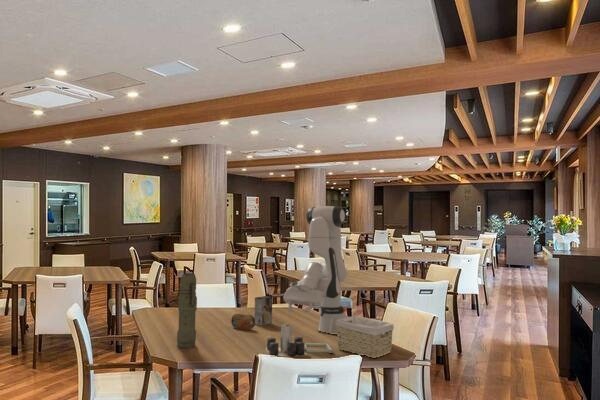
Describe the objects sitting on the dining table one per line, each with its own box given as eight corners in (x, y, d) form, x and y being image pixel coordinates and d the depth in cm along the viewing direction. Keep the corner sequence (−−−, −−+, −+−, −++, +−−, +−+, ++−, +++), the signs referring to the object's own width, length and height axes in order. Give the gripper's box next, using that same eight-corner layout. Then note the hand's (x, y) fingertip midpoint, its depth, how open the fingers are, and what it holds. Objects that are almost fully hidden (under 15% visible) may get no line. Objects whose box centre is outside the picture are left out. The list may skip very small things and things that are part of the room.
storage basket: (395, 354, 221) (395, 322, 222) (375, 361, 209) (375, 327, 210) (354, 344, 237) (354, 315, 238) (333, 350, 226) (334, 319, 226)
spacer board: (302, 349, 226) (303, 336, 226) (307, 358, 211) (307, 344, 211) (265, 349, 224) (265, 336, 224) (267, 359, 208) (267, 345, 209)
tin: (230, 327, 269) (231, 313, 269) (234, 326, 271) (234, 312, 272) (252, 331, 262) (253, 315, 262) (255, 330, 264) (256, 315, 265)
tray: (327, 347, 230) (327, 343, 230) (332, 354, 218) (332, 349, 218) (303, 347, 229) (303, 343, 229) (306, 354, 217) (306, 350, 217)
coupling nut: (291, 350, 220) (291, 324, 221) (291, 352, 216) (292, 326, 216) (280, 350, 220) (280, 324, 220) (280, 352, 215) (281, 326, 216)
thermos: (186, 342, 234) (189, 271, 236) (201, 346, 226) (203, 274, 228) (171, 345, 228) (173, 273, 230) (185, 350, 220) (187, 275, 222)
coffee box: (264, 322, 286) (264, 295, 286) (272, 323, 282) (272, 296, 282) (253, 324, 278) (254, 297, 279) (262, 326, 274) (262, 298, 275)
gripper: (327, 293, 236) (319, 316, 226) (291, 290, 245) (282, 312, 235) (324, 285, 232) (315, 308, 223) (287, 282, 241) (278, 304, 232)
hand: (298, 310), depth 229 cm, fingers open, 8 cm apart
